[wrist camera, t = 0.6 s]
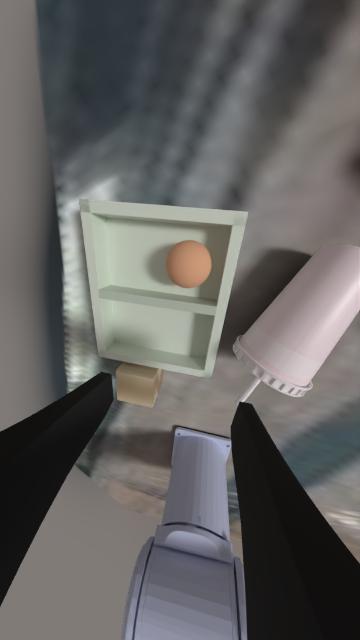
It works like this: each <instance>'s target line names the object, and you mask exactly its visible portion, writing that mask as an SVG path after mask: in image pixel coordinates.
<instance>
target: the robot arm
mask: <svg viewBox="0 0 360 640" xmlns="http://www.w3.org/2000/svg"><path fill="white" fill-rule="evenodd" d="M113 400H114V399H113V387H112V376H111V374H109V373H104V372H101V373H99V374H97V375H96V376H94V377H93V378H91V379H90V380H88V381H87V382H85V383H84V384H82V385H81V386H79V387H78V388H76V389H74V390H73V391H71V392H70V393H68V394H67V395H65V396H63V397H62V398H60V399H59V400H57V401H55V402H53V403H52V404H50V405H48V406H47V407H45V408H43V409H42V410H40V411H38V412H37V413H35V414H33V415H31V416H30V417H28V418H26V419H24V420H22V421H20V422H18V423H16V424H15V425H13V426H11V427H9V428H7V429H5V430H3V431H1V432H0V606H1V604H2V602H3V600H4V598H5V596H6V594H7V591H8V589H9V587H10V585H11V583H12V581H13V579H14V577H15V575H16V573H17V571H18V568H19V567H20V564H21V563H22V561H23V559H24V557H25V555H26V553H27V551H28V548H29V547H30V545H31V543H32V541H33V539H34V537H35V535H36V533H37V531H38V529H39V527H40V525H41V523H42V521H43V519H44V518H45V516H46V514H47V512H48V510H49V508H50V506H51V505H52V503H53V501H54V499H55V497H56V495H57V493H58V492H59V490H60V488H61V486H62V484H63V483H64V481H65V479H66V477H67V475H68V473H69V472H70V470H71V469H72V467H73V465H74V464H75V462H76V461H77V459H78V457H79V456H80V454H81V453H82V451H83V450H84V448H85V447H86V445H87V444H88V442H89V441H90V439H91V438H92V436H93V435H94V433H95V431H96V430H97V428H98V427H99V425H100V424H101V422H102V421H103V419H104V417H105V415H106V414H107V412H108V410H109V408H110V406H111V404H112V402H113ZM231 449H232V457H233V465H234V472H235V480H236V487H237V494H238V502H239V509H240V519H241V531H242V546H243V562H244V566H243V564H242V563H241V560H240V558H238V557H234V568H233V554H232V543H231V542H230V534H229V517H228V501H227V484H226V468H225V463H226V460H227V458H228V455H229V452H230V450H231ZM171 465H172V470H171V476H170V481H169V487H168V492H167V498H166V503H165V509H164V514H163V520H162V525H157V528H156V533H155V537H153V536H151V537H149V539H148V540H147V542H146V543H145V544H144V545H143V547H142V549H141V551H140V553H139V555H138V558H137V561H136V564H135V567H134V571H133V575H132V578H131V583H130V587H129V592H128V596H127V601H126V606H125V612H124V618H123V626H122V637H121V640H360V563H359V562H358V561H357V560H356V558H355V557H354V556H353V555H352V553H351V552H350V551H349V550H348V548H347V547H346V546H345V545H344V543H343V542H342V541H341V539H340V538H339V537H338V535H337V534H336V533H335V531H334V530H333V529H332V527H331V526H330V525H329V523H328V522H327V521H326V519H325V518H324V517H323V515H322V514H321V513H320V511H319V510H318V508H317V507H316V506H315V504H314V503H313V501H312V500H311V499H310V497H309V496H308V494H307V493H306V491H305V490H304V489H303V487H302V486H301V484H300V483H299V481H298V480H297V478H296V477H295V475H294V474H293V472H292V471H291V469H290V468H289V466H288V465H287V463H286V461H285V460H284V458H283V457H282V455H281V453H280V452H279V450H278V449H277V447H276V445H275V444H274V442H273V440H272V439H271V437H270V435H269V434H268V432H267V430H266V428H265V427H264V425H263V423H262V421H261V420H260V418H259V416H258V414H257V412H256V411H255V409H254V407H253V405H252V404H249V403H245V402H240V401H239V404H238V407H237V410H236V413H235V416H234V419H233V422H232V425H231V439H228V438H223V437H219V436H215V435H211V434H207V433H202V432H198V431H194V430H190V429H186V428H181V427H177V428H176V430H175V437H174V444H173V452H172V460H171Z"/></svg>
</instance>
